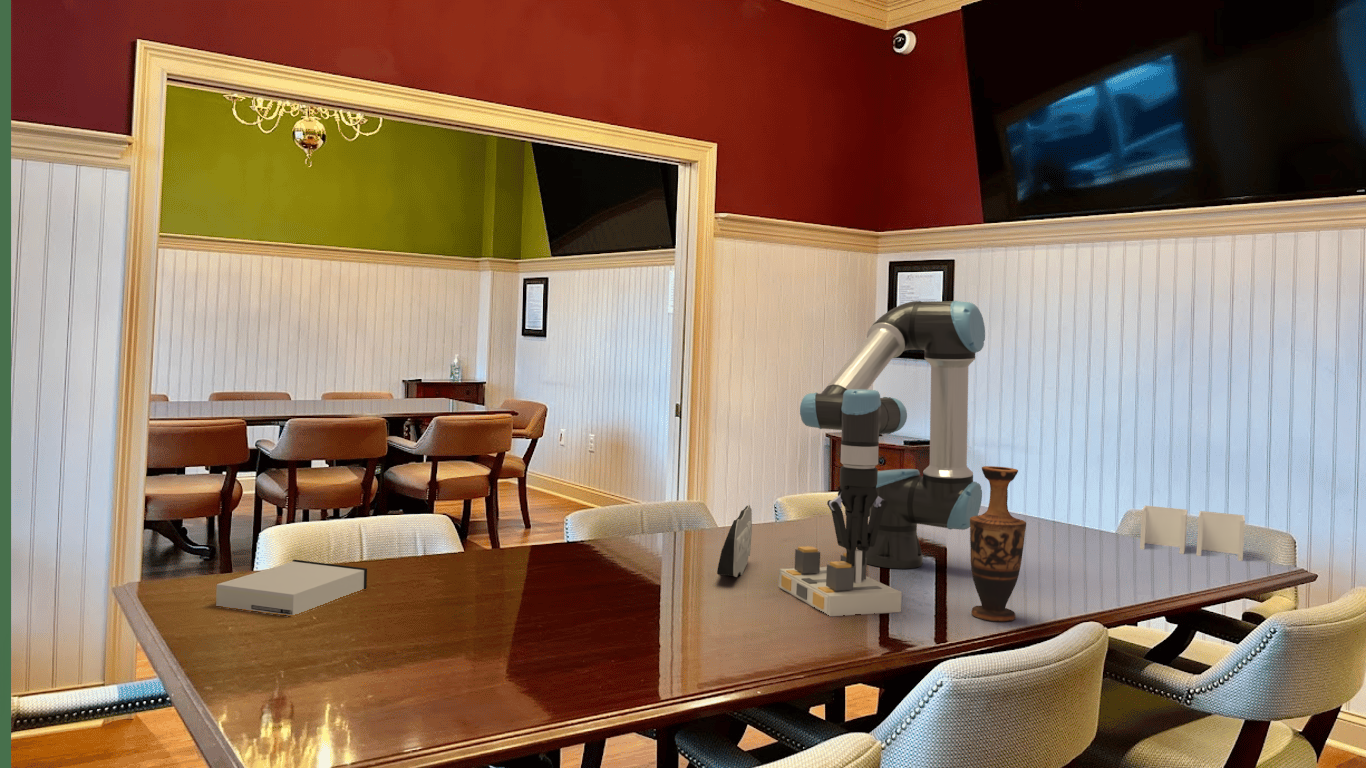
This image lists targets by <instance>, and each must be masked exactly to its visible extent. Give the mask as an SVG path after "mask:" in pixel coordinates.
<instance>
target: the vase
mask: <svg viewBox="0 0 1366 768" xmlns="http://www.w3.org/2000/svg"><path fill="white" fill-rule="evenodd" d="M981 472H982V473H983V475H984V478H985V479H986V480H988V482H989V489H990V491H989V492H990V493H989V502H988V507H987V510H986V511H985V512H984V513H981V514H980V515H979V514H978V515H977V516H973V517H971V518H970V527H969V533H970V534H969V535H970V537H969V543H970V544H969V545H970V546H969V547H970V566H971V567H970V569H971V576H972V580H973V584H974V587H975V590H976V592H977V595H978V598H979V600H980V603H981V605H974V606H973V607H972V609H971V615H973V617H975V618H977V619H981V620H985V621H989V622H1001V623H1003V622H1004V623H1006V622H1012V621H1014V620H1016V612H1015V611H1013V610H1012V609H1009V608H1007V607H1006V606H1007V604H1008V602H1009V600H1010V598H1011V595H1012V593H1013V592H1014V589H1015V587H1016V585H1017V583H1018V582H1017V581H1018V579H1019V575H1020V570H1021V566H1022V558H1023V551H1024V544H1025V535H1026V528H1027V522H1026V521H1025V520H1023V519H1020V518H1016V517H1014V516H1012V515H1011V513H1010V512H1009V508H1008V497H1009V496H1008V493H1009V491H1008V488H1009V486H1010V485H1009V484H1010V483H1011V482H1013V480H1015V478H1016V476H1017V475H1018V473H1019V470H1018V469H1016V468H1013V467H1008V466H1007V467H1005V466H993V465H987V466H981Z"/></svg>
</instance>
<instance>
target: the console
mask: <svg viewBox="0 0 1366 768" xmlns="http://www.w3.org/2000/svg"><path fill="white" fill-rule="evenodd" d="M826 575H827V566H820V573H801V572H799V571H797V570H795V567H793V568H790V567H789V568H779V569H778V588H779V589H781V590H783V591H784V592H785V593H787V594H789V595H792V596H793V597H795V598H797V599H799V600H800V601H802V602H804V603H806V605H809V606H811V607H813V608H814V607H815V609H816V610H818V611H819V610H820V612H821V611H822V612H821V613H823V612H824V613H823V614H825V613H826V614H827V616H828V615H829V616H828V617H842V616H843V615H845V616H856V615H855V614H861V615H873V614H874V613H875V614H877V615H878V614H891V613H901V612H902V611H901V610H902V593H903V592H902V591H900V590H898V589H895V588H893V587H890V586H889V585H887V584H884V583H882V582H880V581H879V580H876V579H873V578H871V577H869V576H867V575H866V579H864V580H861V583H854V582H853V590H838V591H835V590H833V589H831V588H829V587H827V586H826ZM826 614H825V615H826Z"/></svg>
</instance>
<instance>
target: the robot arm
mask: <svg viewBox="0 0 1366 768" xmlns="http://www.w3.org/2000/svg"><path fill="white" fill-rule="evenodd" d="M985 326H986V325H985V322H984V317H983V314H982V313H981V311H980V308H979V307H978V306H977V305H976V304H974V303H972V302H971V301H959V300H952V301H951V300H949V301H948V300H947V301H946V300H945V301H943V300H941V301H940V300H939V301H932V300H931V301H928V300H926V301H925V300H924V301H920V300H914V301H909V302H904V303H902V304H899V305H897V306H896V307H894V308H891V309H890V310H889V311H887V312H886V313H884V314H882V315H881V317H879V318H878V319H877V320H876V321H875V322H874V323H873V324H872V325H871V326H870V327H869V328H868V330H867V332H866V339H865V340H864V341H863V342H862V344H861V345H860V346H859V347H858V348H857V350H856V351H855V352H854V353H853V354H852V356H851V357H850V358H849V360H847V362H846V363H845V364H844V366H843V367H842V368H841V369H840V370H839V371H838V373H836V375H835V376H834V377H833V379H832V380H831V381H830V382H829V383H828V384H827V386H826V387H825V388H824V390H823V391H822V392H821V393H818V392H813V393H806V394H805V395H804V396H803V398H802V400H801V402H800V405H799V416H800V419H801V421H802V423H803V425H805V426H806V427H809V428H815V429H819V430H833V431H834V430H835V431H841V440H840V461H839V462H840V463H841V464H842V465H841V467H840V468H839V490H838V491H837V496H836V497H835V498H833V499H832V500H831V499H829V500H827V506H828V508H829V511H831V516H832V521H833V526H834V530H835V536H836V537H835V538H836V541H837V546H839V547H842V548H844V549H845V551H846V552H845V553H846V562H847V563H849V564H851V567H853V568H854V583H861V574H862V566H864V565H865V558H867V565H870V566H874V567H879V568H889V569H916V568H919V567H922V566H923V564H924V563H923V562H924V561H923V560H924V559H923V558H924V556H923V553H922V547H921V545H920V540H919V537H918V533H917V531H918V530H917V529H918V527H917V526H918V525H922V526H930V527H936V528H937V527H938V528H943V529H944V528H945V529H947V530H959V531H960V530H961V531H963V530H967V529H970V518H971V517H973V516H978V515H979V513H980V510H981V504H982V501H983V499H982V498H983V491H982V490H983V489H982V485H981V483H979V482H977V481H974V473H973V471H972V470H971V469H970V468H969V467H968V465H967V464H968V463H967V462H968V416H969V414H968V410H969V407H968V405H969V367H970V365H971V364H972V363H973V362H974V361H975V360H976V353H978V352H981V351H982V350H983V348H984V346H985V341H986V327H985ZM909 350H917V351H924V360H925V361H926V362H927V363H928V364H929V365H930V411H929V412H930V415H929V416H930V418H929V419H930V421H929V431H930V432H929V465H928V466H926V468H924V470H923V471H922V472H923V473H922V475H921V473H920V470H919V469H915V468H901V469H900V468H899V469H898V468H896V469H884V470H879V469H878V468H877V466H878V465H879V445H880V444H879V443H880V440H879V439H880V435H884V434H887V435H890V434H894V433H895V432H898V431H900V430H901V429H902V428H903V427H904V426H905V425H906V422H907V419H908V413H907V408H906V406H905V405H904V403H903V402H902V401H901V400H899V399H898V398H894V397H892V396H891V397H888V396H887V397H886V396H883V397H881V393H879V391H878V390H876V389H869V388H871V386H872V385H873V384H874V382H875V381H876V380H877V378H878V377H879V376H880V375H881V374H882V372H883V371H884V370H885V368H886V367H887V366H888V364H890V363H891V362H890V361H892V359H895V358H898V357H900V356H901V355H902V354H903V352H905V351H909ZM843 507H844V509H845V510H844V511H845V512H844V514H845V519H844V514H843V510H842V508H843Z"/></svg>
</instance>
